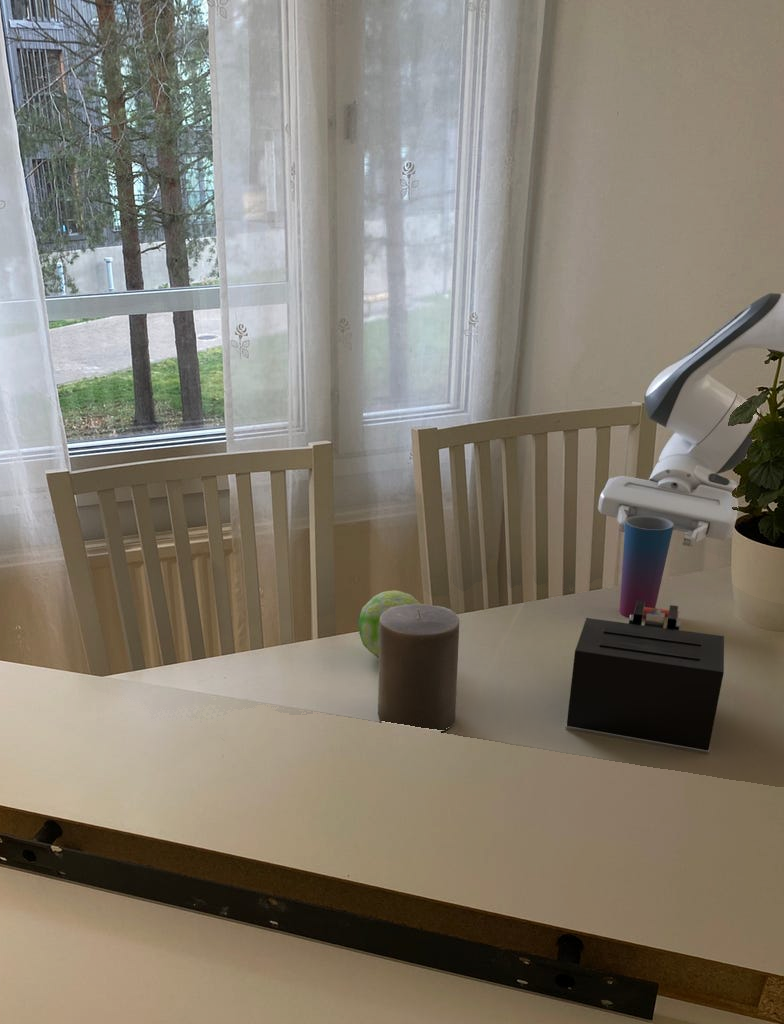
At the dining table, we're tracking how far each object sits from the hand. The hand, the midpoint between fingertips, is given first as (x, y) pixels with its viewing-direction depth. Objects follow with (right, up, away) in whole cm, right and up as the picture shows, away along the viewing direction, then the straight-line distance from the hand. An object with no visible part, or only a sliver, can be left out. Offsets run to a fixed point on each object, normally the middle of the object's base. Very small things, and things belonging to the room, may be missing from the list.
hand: (655, 535), depth 137 cm
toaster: (-12, -26, -25) cm, 38 cm away
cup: (-1, -12, +4) cm, 13 cm away
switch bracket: (-9, -23, -18) cm, 30 cm away
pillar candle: (-39, -26, -22) cm, 52 cm away
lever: (-7, -14, -18) cm, 24 cm away
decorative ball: (-40, -18, -7) cm, 45 cm away
